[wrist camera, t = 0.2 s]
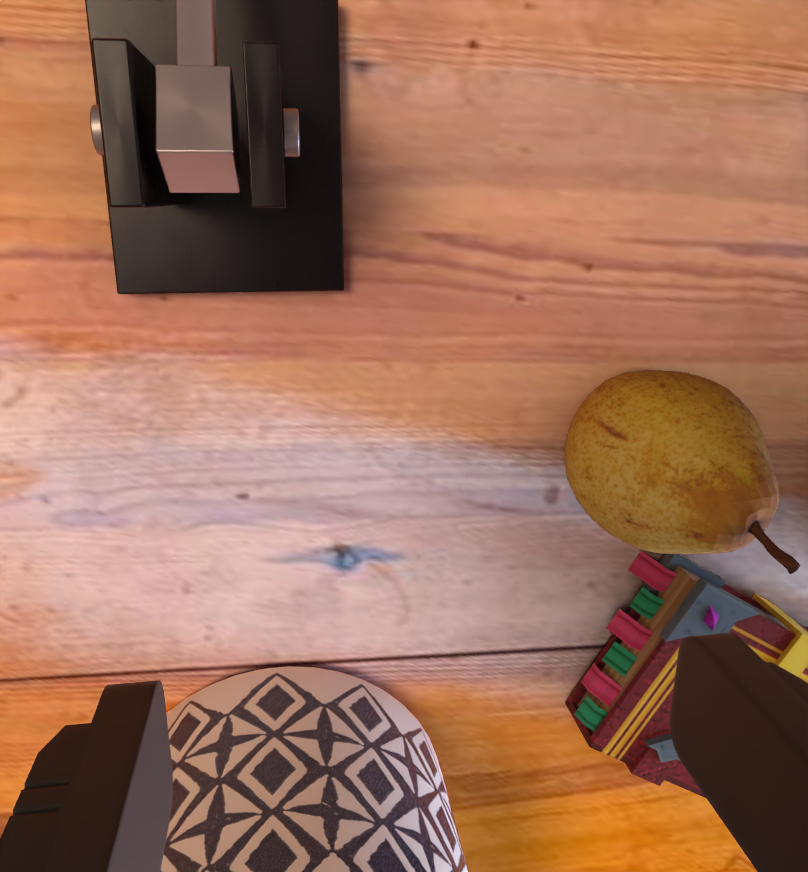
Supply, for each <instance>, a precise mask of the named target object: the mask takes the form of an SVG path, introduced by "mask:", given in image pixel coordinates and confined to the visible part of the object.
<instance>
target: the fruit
mask: <svg viewBox="0 0 808 872" xmlns="http://www.w3.org/2000/svg"><path fill="white" fill-rule="evenodd" d="M565 468H566V474H567V479H568V481H569V484H570V486H571V488H572V490H573V493H574V495H575V497H576V499H577V501H578V502H579V503H580V505H581V506H582V507H583V508H584V510H585V511H586V512H587V514H588V515H589V516H590V517H591V518H592V519H593V520H594V521H595V522H596V523H597V524H598V525H599V526H601V527H602V528H603V529H604V530H605V531H607V532H608V533H609V534H611V535H612V536H614V537H616V538H618V539H619V540H621V541H623V542H625V543H627V544H629V545H631V546H634V547H636V548H640V549H643V550H646V551H649V552H655V553H665V554H700V553H724V552H730V551H734V550H736V549H739V548H741V547H744V546H745V545H747V544H748V543H749V542H751V541H752V540H753V539H754V538H757V539H758V540H759V541H760V542H761V543H762V544H763V545H764V547H765V548H766V550H767V551H768V552H769V553H770V554H771V555H772V556H773V557H774V558H775V559H776V560H777V561H779V562H780V563H781V564H782V565H783V566H784V567H785V568H786V569H787V570H788V572H789V574H792V573H794V572H795V571H797V570H798V568H799V566H800V564H799V563H798V562H797V561H796V560H795V559H794V558H793V557H792V556H790V555H788V554H787V553H785V552H784V551H782V550H781V549H779V548H778V547H777V546H776V545H775V544H774V543H773V542H772V541H771V540H770V539H769V538H768V536H767V535H766V534H765V533H764V530H765V528H766V527H767V525H768V524H769V523H770V521H771V520H772V518H773V516H774V514H775V512H776V510H777V507H778V503H779V498H780V497H779V490H778V483H777V479H776V477H775V474H774V471H773V468H772V466H771V462H770V458H769V454H768V450H767V446H766V442H765V439H764V436H763V434H762V431H761V429H760V427H759V425H758V423H757V421H756V419H755V418H754V416H753V415H752V413H751V412H750V411H749V409H748V408H747V407H746V406H745V405H744V404H743V403H742V402H741V401H740V400H739V398H738V397H736V396H735V395H734V394H733V393H732V392H731V391H730V390H729V389H727V388H725V387H723V386H721V385H720V384H718V383H716V382H714V381H711V380H709V379H706V378H703V377H699V376H696V375H692V374H689V373H682V372H673V371H652V370H646V371H637V372H628V373H624V374H621V375H619V376H616V377H614V378H612V379H609V380H607V381H605V382H604V383H603V384H602V385H600V386H599V387H598V388H597V389H596V390H594V391H593V392H592V393H591V394H590V395H589V396H588V398H587V399H586V400H585V401H584V402H583V403H582V405H581V407H580V408H579V410H578V412H577V413H576V415H575V417H574V419H573V421H572V424H571V426H570V428H569V431H568V435H567V439H566V443H565Z"/></svg>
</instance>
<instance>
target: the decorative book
mask: <svg viewBox="0 0 808 872" xmlns="http://www.w3.org/2000/svg"><path fill="white" fill-rule="evenodd" d="M628 570H629V571H630V572H632V573H633V574H634V575H636V576H637V577H639V578H640V579H642V580H643V581H644V582H645V583H644V585H643V586H642V588H641V589H640V591H639V592H638V593H637V595H636V596H635V598H634V599H633V601H632V603H631V604H630V607H631V608H632V609H631V610H630V612H629V613H628V615H627V614H626V613H624V612H623V611H622V610H620V609H619V610H618V612H617V613H616V615H615V616H614V617H613V619H612V620H611V622H610V623H609V625H608V626H607V627H606V629H608V630H609V631H610V632H612V633H613V636H612V637H611V639H610V640H609V641H608V643H607V644H606V646H605V647H604V648H603V650H602V651H601V653H600V654H599V655H598V657H597V658H596V660H595V661H594V663H593V664H592V665H591V667H590V668H589V670H588V671H587V672H586V674H585V675H584V677H583V678H582V679H581V681H580V682H579V684H578V685H577V687H576V688H575V689H574V691H573V692H572V694H571V695H570V696H569V698H568V699H567V701H566V702H565V704H566V705H567V707H568V709H569V711H570V713H571V714H572V716H573V718H574V720H575V722H576V723H577V725H578V727H579V729H580V731H581V733H582V734H583V736H584V738H585V740H586V742H587V743H588V745H589V747H591V748H593V749H595V750H597V751H600V752H602V753H604V754H607V755H609V756H611V757H613V758H616V759H618V760H620V761H623V762H625V764H626V765H627V767H628V769H629V770H630V772H631V773H632V774H634V775H636V776H638V777H641V778H643V779H645V780H648V781H650V782H652V783H655V784H657V785H659V786H660V785H661V783H662V782H663V781H664V780H666V781H668V782H671V783H673V784H675V785H678V786H680V787H682V788H684V789H687V790H689V791H691V792H694V793H696V794H698V795H700V796H703V797H705V798H706V796H705V795H704V794H703V792H702V791H701V789H700V788H699V786H698V785H697V784H696V782H695V781H694V779H693V778H692V776H691V775H690V773H689V772H688V771H687V769H686V768H685V766H684V765H683V763H682V762H681V760H680V759H679V757H678V755H677V753H676V750H675V747H674V744H673V741H672V737H671V731H670V713H671V706H672V698H673V690H674V682H675V674H676V667H677V659H678V651H679V646H680V643H681V642H682V640H683V639H684V638H685V637H688V636H699V635H711V634H722V633H734V634H736V635H738V636H739V637H740V638H741V639H742V640H743V641H744V642H745V643H746V644H747V645H748V646H749V647H750V648H751V649H752V650H754V651H755V652H756V653H757V654H758V655H759V656H760V657H761V658H762V659H763V660H764V661H765V662H772V663H774V664H776V665H778V666H780V667H781V668H783V669H785V670H787V671H788V672H790V673H792V674H794V675H796V676H797V677H799V678H801V679H803V680H804V681H805V682H807V683H808V629H807V628H806V627H804V626H802V625H800V624H798V623H796V622H795V621H794V620H793V619H792V618H790V617H789V616H788V615H787V614H786V613H784V612H783V611H782V610H781V609H780V608H778V607H777V606H776V605H775V604H773V603H772V602H770V601H768V600H766V599H764V598H763V597H761V596H759V595H757V594H754V595H753V596H752V598H751V597H749V596H747V595H745V594H743V593H742V592H740V591H738V590H736V589H734V588H733V587H731V586H729V585H727V584H725V581H724V580H722V579H721V578H720V577H719V576H717V575H715V574H713V573H712V572H710V571H708V570H706V569H704V568H703V567H701V566H699V565H697V564H695V563H694V562H692V561H690V560H688V559H687V558H685V557H683V556H681V555H679V554H665V555H664V556H663V557H662V559H661V560H660V562H659V563H658V562H657V561H656V560H654V559H653V558H651V557H650V556H648V555H647V554H645V553H644V552H642V551H641V552H640V553H639V555H638V556H637V558H636V559H635V560H634V562H633V563H632V565H631V566H630V568H629V569H628Z"/></svg>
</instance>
